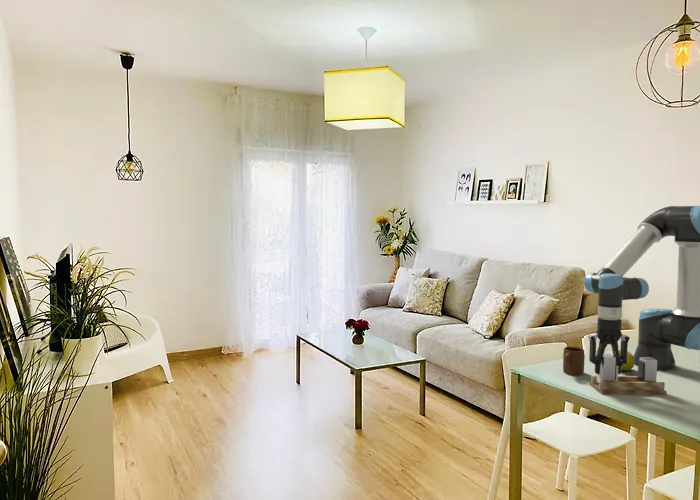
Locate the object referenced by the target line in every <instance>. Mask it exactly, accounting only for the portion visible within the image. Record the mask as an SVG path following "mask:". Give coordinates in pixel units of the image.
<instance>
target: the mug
mask: <svg viewBox="0 0 700 500" xmlns="http://www.w3.org/2000/svg"><path fill="white" fill-rule="evenodd" d="M562 353H563V355H562V357H563V358H562V359H563V360H562V370H563V373H565V374H566V373H567V375H570V374H571V375H570V376H582V375H583V374H584V373H585V355H586V354H585V349H584V348H581V347H578V346H566V347H564V348H563V352H562Z"/></svg>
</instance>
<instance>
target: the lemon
mask: <svg viewBox="0 0 700 500" xmlns="http://www.w3.org/2000/svg"><path fill="white" fill-rule="evenodd" d="M619 354H620V350H619ZM633 355H634V354H632V353H631V352H629V351H628V350H627V363H626V364H622V366H621V371H622V372H627V371H630V370H632V369H633V368H634V366H635V360H634V357H633ZM621 371H620V372H621Z"/></svg>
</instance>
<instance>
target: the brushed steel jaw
mask: <svg viewBox="0 0 700 500" xmlns="http://www.w3.org/2000/svg"><path fill="white" fill-rule="evenodd" d="M601 365H602V366H603V376H602V381H605V382H615V380H616V368H617V360H616V357H614V356H613V354H608V353H606V354H605V353H604V355H603V358H602V362H601Z"/></svg>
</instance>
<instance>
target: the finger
mask: <svg viewBox="0 0 700 500" xmlns="http://www.w3.org/2000/svg"><path fill="white" fill-rule="evenodd" d="M657 374H658V370H657V360H656V359H654V358H652V357H640V360H638V366H637V376H638V380H639V382H657V377H658V376H657Z"/></svg>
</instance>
